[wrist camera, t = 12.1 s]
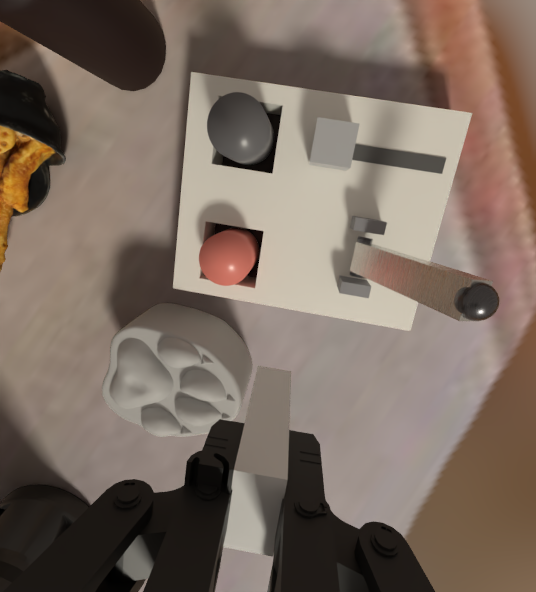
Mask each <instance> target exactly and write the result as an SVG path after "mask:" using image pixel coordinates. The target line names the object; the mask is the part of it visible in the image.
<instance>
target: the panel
mask: <svg viewBox="0 0 536 592" xmlns="http://www.w3.org/2000/svg"><path fill="white" fill-rule="evenodd" d="M233 92H242V93H246V94H248V95H250V96H252V97H254V98H255V99H256V100H257V101H258V102H259V103H260V104H261V105H262V107H263V109H264V110H265V112H266V113H270V114H277V115H281V120H280V127H279V133H278V140H277V146H276V153H275V160H274V166H273V173H265V172H259V171H253V170H247V169H240V168H234V167H228V166H222V163H223V155H222V154H220V153H219V152H218V151H217V150H216V149H215V148H214V147H213V145H212V143H211V141H210V139H209V136H208V132H207V119H208V115H209V112H210V110H211V108H212V106H213V105H214V104H215V102H216V101H217V100H218V99H220V98H221V97H222V96H224V95H226V94H229V93H233ZM471 116H472V113H468V112H461V111H455V110H448V109H441V108H434V107H427V106H421V105H414V104H407V103H400V102H393V101H386V100H380V99H373V98H366V97H359V96H352V95H346V94H339V93H332V92H325V91H318V90H311V89H305V88H298V87H291V86H284V85H277V84H271V83H264V82H257V81H250V80H243V79H236V78H230V77H223V76H216V75H209V74H202V73H196V72H191V81H190V93H189V104H188V116H187V128H186V140H185V151H184V163H183V175H182V186H181V198H180V210H179V222H178V233H177V245H176V257H175V268H174V280H173V288H174V289H179V290H185V291H191V292H196V293H202V294H207V295H213V296H218V297H224V298H229V299H235V300H241V301H246V302H252V303H257V304H263V305H268V306H274V307H279V308H285V309H290V310H296V311H302V312H307V313H313V314H318V315H324V316H329V317H335V318H340V319H346V320H351V321H357V322H363V323H368V324H374V325H379V326H385V327H390V328H396V329H401V330H407V331H410V329H411V326H412V322H413V319H414V315H415V312H416V308H417V305H418V302H417V301H415V300H412V299H410V298H408V297H406V296H404V295H402V294H399V293H397V292H395V291H393V290H391V289H389V288H386V287H384V286H382V285H380V284H378V283H375V282H373V281H371V280H369V279H367V278H365V277H364V278H358V277H354V276H351V275H349V274H350V267H351V262H352V258H353V254H354V249H355V245H356V242H357V238H358V236H361V237H367V238H371V239H373V241H372V244H375V245H378V246H382V247H385V248H388V249H391V250H394V251H398V252H401V253H404V254H407V255H410V256H414V257H417V258H420V259H423V260H427V261H430V259H431V256H432V252H433V249H434V245H435V242H436V238H437V235H438V231H439V228H440V224H441V221H442V217H443V214H444V210H445V207H446V203H447V200H448V196H449V193H450V189H451V186H452V182H453V179H454V175H455V172H456V168H457V165H458V161H459V158H460V154H461V151H462V147H463V144H464V140H465V137H466V133H467V130H468V126H469V123H470V119H471ZM318 117H319V118H326V119H332V120H339V121H346V122H352V123H359V129H358V134H357V139H356V144H355V148H354V153H353V158H352V163H351V168H350V169H348V170H346V171H345V170H338V169H332V168H326V167H319V166H313V165H309V163H310V157H311V151H312V146H313V140H314V135H315V129H316V123H317V118H318ZM216 223H219V224H224V225H230V226H236V227H242V228H248V229H254V230H260V231H264V232H263V239H262V246H261V252H260V259H259V265H258V272H257V278H254V277H249V276H246V277H245V278H244V279H243V280H242V281H240V282H239V283H237V284H234V285H230V286H222V285H218V284H215V283H214V282H212V281H210V280H209V279H208V278H207V277H206V276H205V275H204V273H203V272H202V270H201V267H200V264H199V253H200V249H201V247H202V245H203V244H204V242H205V241H206V240H207V239H208V238H210V237H211V236H213V235H214V234H215V225H216Z"/></svg>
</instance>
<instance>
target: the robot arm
mask: <svg viewBox="0 0 536 592" xmlns="http://www.w3.org/2000/svg"><path fill="white" fill-rule="evenodd" d="M290 388H291V371H285V370H279V369H273V368H267V367H261V366H258V368H257V373H256V377H255V381H254V385H253V390H252V394H251V398H250V403H249V407H248V411H247V416H246V420H245V423H239V422H233V421H227V420H222V419H219V420H218V421H217V422H216V423H215V424H214V425H212V426H211V429H210V431H209V434H208V437H207V439H206V442H205V445H204V447H203V450H202V451H198V452H197V453H195V454H193V455H192V456H191V457H190V458H189V459H188V461H187V465H186V475H185V485H184V486H182V487H181V488H178V489H176V490H173V491H168V492H159V493H154V492H153V490H152V488H151V486H150V485H148V484H147V483H145V482H144V481H140V480H136V479H133V480H124V481H121V482H118V483H116V484H114V485H113V486H111V487H110V488H109V489H107V490H106V491H105V492H104V493H103V494H102V495H101V496H100V497H99V498H98V499H97V500H96V501H95V502H94V503H93V504H92V505H91V506H90V507H88V506H87V505H86V504H85V503H84V502H83V501H81V500H80V499H78V498H77V497H75V496H74V495H72V494H70V493H68V492H66V491H64V490H61V489H58V488H55V487H51V486H45V485H30V486H25V487H21V488H19V489H16V490H14V491H13V492H11V493H10V494H9V495H8V496H7V497H6V498H5V499H4V500H3V501H2V502H1V503H0V592H138V591H139V590H140V588H141V587H142V585H143V584H144V581H145V579H148V581H147V583H146V586H145V588H144V591H143V592H215V588H216V583H217V578H218V573H219V568H220V563H221V556H222V550H223V547H225V548H230V549H236V550H241V551H247V552H252V553H257V554H263V555H268V556H273V553H274V559H273V565H272V570H271V576H270V581H269V586H268V591H267V592H435V591H434V589H433V587H432V585H431V584H430V582H429V580H428V578H427V577H426V575H425V573H424V571H423V569H422V568H421V566H420V564H419V562H418V561H417V559H416V557H415V556H414V554H413V552H412V550H411V548H410V547H409V545H408V543H407V542H406V540H405V539H404V538H403V536H402V535H401V534H400V533H399V532H397V531H396V530H395V529H394V528H392V527H390V526H388V525H386V524H384V523H380V522H369V523H365V524H364V525H363V526H362V527H361V528H360V529H358V528H355V527H353V526H351V525H349V524H347V523H345V522H343V521H342V520H340V519H339V518H338V517H336V516H335V515H334V514H333V513H332V511H331V510H330V507H329V504H328V503H327V502H326V500H325V494H324V484H323V473H322V466H321V464H322V463H321V452H320V444H319V442H318V441H317V439H316V438H315V436H314V435H313V434H308V433H302V432H296V431H291V430H289V419H290Z"/></svg>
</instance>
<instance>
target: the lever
mask: <svg viewBox="0 0 536 592" xmlns="http://www.w3.org/2000/svg"><path fill="white" fill-rule="evenodd" d="M372 241H373V239H371V238H367V237H361V236H358V238H357V242H356V245H355V249H354V254H353V258H352V262H351V267H350V274H349V275H351V276H354V277H358V278H364V277H365V278H367V279H369V280H371V281H373V282H375V283H378V284H380V285H382V286H384V287H386V288H389V289H391V290H393V291H395V292H397V293H399V294H402V295H404V296H406V297H408V298H410V299H412V300H415V301H417V302H419V303H421V304H423V305H425V306H428V307H430V308H432V309H434V310H436V311H439V312H441V313H443V314H445V315H447V316H449V317H452V318H454V319H456V320H458V321H481V320H485V319H488V318H489V317H491V316H492V315H493V314H494V313H495V312H496V311H497V309H498V306H499V296H498V293H497V292H496V290H495V289H494V288H493V287H492V286H491V285H492V282H493V281H491V280H487V279H484V278H481V277H478V276H475V275H471V274H468V273H465V272H462V271H459V270H455V269H452V268H449V267H446V266H443V265H439V264H436V263H433V262H430V261H427V260H423V259H420V258H417V257H414V256H410V255H407V254H404V253H401V252H398V251H394V250H391V249H388V248H385V247H382V246H378V245H375V244H372Z"/></svg>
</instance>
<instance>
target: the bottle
mask: <svg viewBox="0 0 536 592" xmlns="http://www.w3.org/2000/svg"><path fill="white" fill-rule="evenodd" d="M0 21H1V22H3V23H4V24H6V25H8V26H10V27H11V28H13V29H15V30H17V31H18V32H20V33H22V34H24V35H25V36H27V37H29V38H31V39H32V40H34V41H36V42H38V43H39V44H41V45H43V46H45V47H47V48H48V49H50V50H52V51H54V52H55V53H57V54H59V55H61V56H62V57H64V58H66V59H68V60H69V61H71V62H73V63H75V64H76V65H78V66H80V67H82V68H83V69H85V70H87V71H89V72H90V73H92V74H94V75H96V76H97V77H99V78H101V79H103V80H104V81H106V82H108V83H110V84H112V85H114V86H116V87H118V88H120V89H122V90H129V91H136V90H140V89H144V88H146V87H148V86H149V85H150V84H152V83H153V82H154V81H155V80H156V79H157V77H158V76H159V74H160V73H161V71H162V68H163V65H164V62H165V55H166V45H165V41H164V36H163V32H162V30H161V28H160V26H159V24H158V22H157V21H156V19H155V18H154V16H153V15H152V14H151V13H150V12H149V11H148V9H147V8H146V7H145V6H144V5H143V4H142V2H141V1H140V0H0Z"/></svg>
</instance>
